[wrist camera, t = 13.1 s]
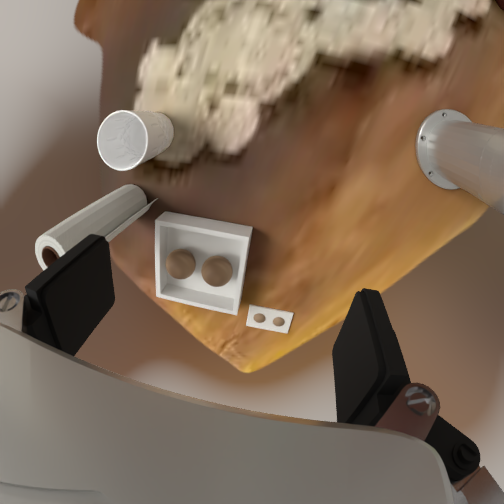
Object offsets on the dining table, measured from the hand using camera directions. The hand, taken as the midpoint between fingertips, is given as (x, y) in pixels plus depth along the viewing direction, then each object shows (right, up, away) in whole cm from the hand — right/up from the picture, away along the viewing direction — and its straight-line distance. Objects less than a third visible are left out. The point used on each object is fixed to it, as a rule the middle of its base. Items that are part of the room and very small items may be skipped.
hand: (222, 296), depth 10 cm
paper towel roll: (-19, +10, +37) cm, 42 cm away
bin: (-7, 0, +40) cm, 40 cm away
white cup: (-14, +20, +31) cm, 39 cm away
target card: (+4, -11, +44) cm, 45 cm away
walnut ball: (-11, 0, +37) cm, 39 cm away
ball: (-5, -1, +37) cm, 37 cm away
